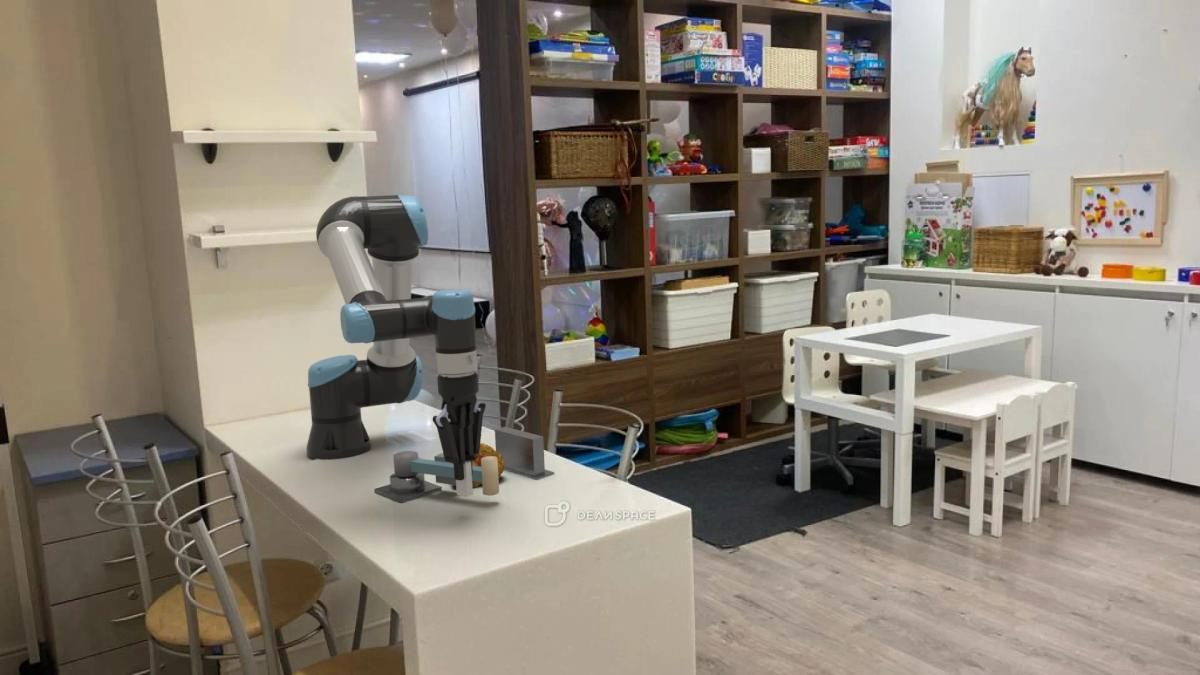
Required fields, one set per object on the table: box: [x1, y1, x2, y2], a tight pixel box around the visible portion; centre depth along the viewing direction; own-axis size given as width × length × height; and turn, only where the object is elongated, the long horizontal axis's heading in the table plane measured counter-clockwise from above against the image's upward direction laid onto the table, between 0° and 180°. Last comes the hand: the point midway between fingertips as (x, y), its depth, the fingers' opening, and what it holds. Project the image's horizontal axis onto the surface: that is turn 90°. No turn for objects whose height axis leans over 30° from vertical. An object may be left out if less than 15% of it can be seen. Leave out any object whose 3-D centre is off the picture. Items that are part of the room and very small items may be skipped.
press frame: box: [373, 426, 555, 504], centre depth 188 cm, size 21×32×9 cm, turn 135°
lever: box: [392, 450, 500, 496], centre depth 180 cm, size 25×6×7 cm, turn 63°
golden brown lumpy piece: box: [452, 442, 505, 488], centre depth 189 cm, size 11×8×10 cm
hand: (464, 494), depth 169 cm, fingers closed
